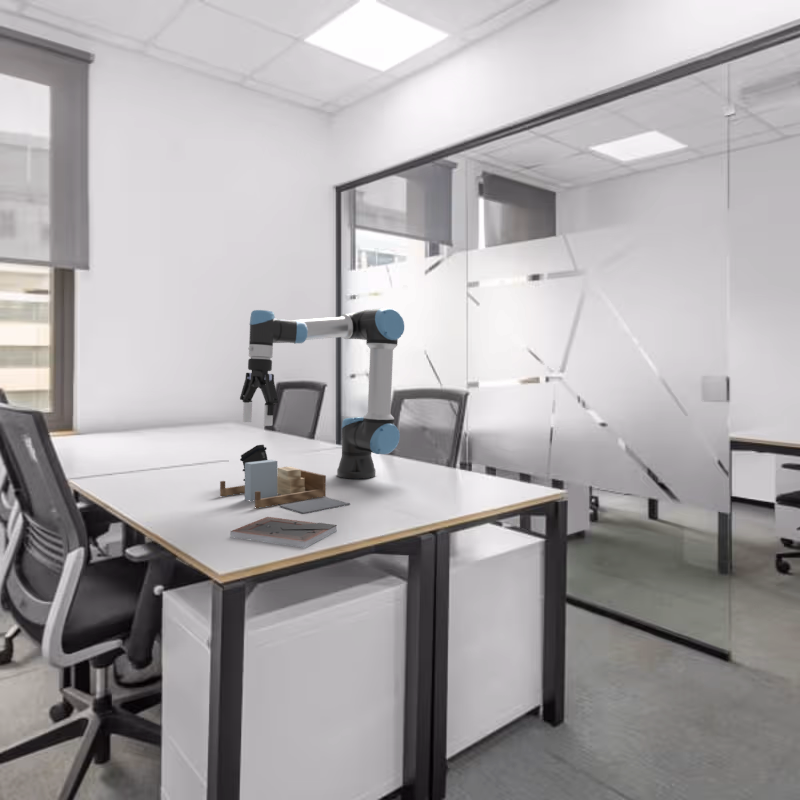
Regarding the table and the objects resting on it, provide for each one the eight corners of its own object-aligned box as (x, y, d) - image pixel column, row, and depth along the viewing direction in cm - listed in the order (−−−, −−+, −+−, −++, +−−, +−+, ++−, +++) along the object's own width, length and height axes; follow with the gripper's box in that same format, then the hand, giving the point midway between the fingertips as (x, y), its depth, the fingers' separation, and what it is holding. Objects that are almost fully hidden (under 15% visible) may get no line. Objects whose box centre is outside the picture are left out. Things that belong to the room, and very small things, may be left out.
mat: (326, 498, 203) (326, 497, 203) (349, 504, 194) (349, 503, 194) (279, 506, 190) (279, 505, 190) (303, 513, 181) (303, 512, 181)
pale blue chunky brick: (271, 495, 206) (271, 459, 205) (277, 497, 203) (277, 461, 202) (244, 499, 198) (244, 462, 198) (250, 501, 196) (250, 464, 195)
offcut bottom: (287, 491, 214) (287, 483, 214) (305, 496, 207) (305, 487, 207) (272, 494, 210) (273, 485, 210) (290, 498, 203) (290, 489, 203)
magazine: (268, 486, 212) (256, 445, 215) (247, 497, 220) (236, 457, 223) (277, 484, 215) (265, 444, 218) (256, 495, 223) (245, 456, 226)
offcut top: (290, 475, 212) (290, 466, 212) (300, 478, 207) (300, 469, 207) (277, 476, 209) (277, 467, 209) (287, 479, 204) (287, 470, 204)
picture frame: (336, 533, 164) (267, 524, 172) (336, 524, 164) (267, 515, 172) (305, 550, 149) (230, 539, 156) (305, 540, 148) (230, 530, 156)
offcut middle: (287, 483, 213) (287, 474, 213) (304, 487, 208) (304, 478, 207) (273, 485, 209) (273, 476, 209) (290, 489, 203) (290, 480, 203)
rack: (286, 486, 221) (287, 466, 221) (325, 496, 205) (325, 475, 205) (220, 496, 203) (220, 475, 202) (257, 508, 187) (257, 485, 186)
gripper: (231, 357, 207) (228, 420, 207) (270, 358, 188) (266, 427, 189) (251, 358, 212) (248, 420, 212) (291, 359, 193) (287, 427, 194)
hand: (257, 423), depth 201 cm, fingers open, 13 cm apart
